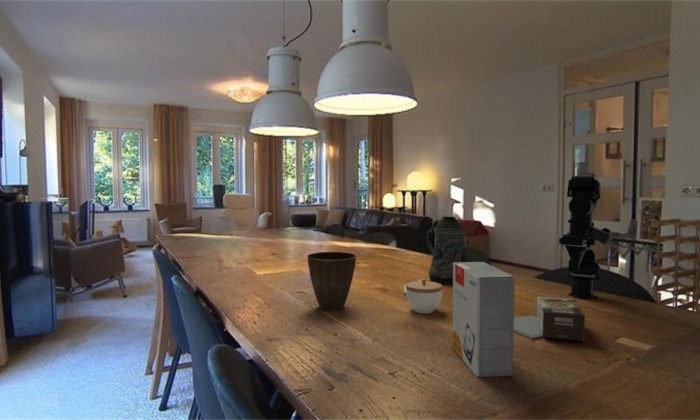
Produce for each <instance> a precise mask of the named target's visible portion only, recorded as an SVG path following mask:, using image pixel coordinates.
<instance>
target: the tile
mask: <svg viewBox="0 0 700 420" xmlns="http://www.w3.org/2000/svg"><path fill="white" fill-rule="evenodd" d="M514 333H516V334H517V335H521V336H523V337H525V338H528V339H530V340H535V339H540V338H544V337H543V335H542V332H541V328H540V325H539V322H538V319H537V315H532V314H530V315H524V316H517V317H514Z"/></svg>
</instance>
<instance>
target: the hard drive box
mask: <svg viewBox="0 0 700 420" xmlns="http://www.w3.org/2000/svg"><path fill="white" fill-rule="evenodd" d="M514 318H515V276H514V275H512V274H510V273H508V272H506V271H503V270H501V269H500V268H497V267H495V266H493V265H492V264H491V265H490V264H489V263H488V262H487V263H486V262H484V261H468V262H455V263H453V285H452V333H451V334H452V349H453V350H454V351H455V352H456V354H457V355H458V357H459V358H461V360H462V361H463V363H465V364H466V365H467V367H468V369H469V370H470V371H471V372H472V373H473V374H474V375H475V376H476V377H477V378H486V377H488V378H490V377H508V376H509V377H512V376H513V372H514V369H513V368H514V367H513V366H514V335H515V334H514V333H515V332H514Z"/></svg>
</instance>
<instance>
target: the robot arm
mask: <svg viewBox="0 0 700 420" xmlns="http://www.w3.org/2000/svg"><path fill="white" fill-rule="evenodd" d="M567 181H568V182H567V183H568V184H567V192H566V194H567V195H566V197H567V198H572V199H571V200H570V201H569V203H568V210H569V212H570V218H569V219H568V220H567V223H569V227H568V228H569V229H568V232H567V233H566V234H565V233H564V234H561V235H560V236H559V238H558V244H561V245H564V247H565V248H566V251H567V253H568V256H569V260H568V278H569V279H570V278H571V286H570V287H571V290H570V291H571V292H568V293H567V295H569V296H573V297H576V298H578V299H579V298H580V299H583V300H584V299H592V298H598V295H596V294H594V286H595V285H594V283H595V281H599V280H600V278H601V266H600V265H599V262H598V261H596V254H595V252H594V250H593V249H592V248H593V247H592V246H594V247H595V246H597V245H598V242H599V243H600V244H603V245H605V246H606V245H609V243H610V241H611V240H612V239H613V236H614V234H612V232H611V230H612V229H609V228H607V227H604V228H602V229H600V228H598V227H596V226H595V222H594V221H593V212H594V211H595V209H596V208H597V207H598V205H599V200H601V197H602V196H601V195H602V193H601V192H602V190H601V188H602V187H601V183H600V181H599V180H598V179H596V173H593V172H581V173H578V174H577V175H572V176H571V177H570V179H568V180H567Z"/></svg>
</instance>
